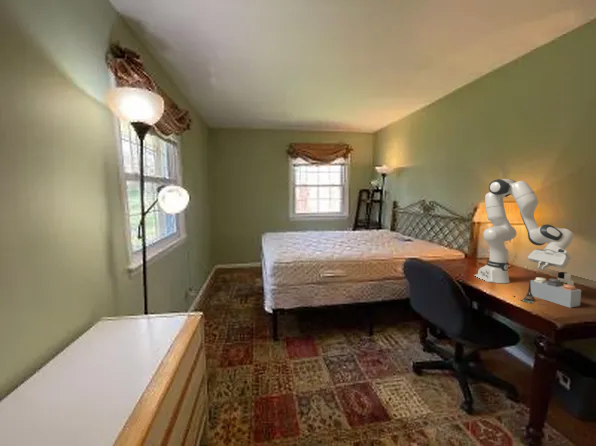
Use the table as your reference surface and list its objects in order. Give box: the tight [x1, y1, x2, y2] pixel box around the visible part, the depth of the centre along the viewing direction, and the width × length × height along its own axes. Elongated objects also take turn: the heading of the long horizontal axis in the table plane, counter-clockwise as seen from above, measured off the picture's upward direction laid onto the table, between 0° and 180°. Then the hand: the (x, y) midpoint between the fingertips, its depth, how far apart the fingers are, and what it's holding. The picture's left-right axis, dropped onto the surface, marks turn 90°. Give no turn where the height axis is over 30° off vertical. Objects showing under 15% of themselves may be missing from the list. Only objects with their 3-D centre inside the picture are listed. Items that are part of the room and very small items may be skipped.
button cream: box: [533, 276, 548, 283], centre depth 184 cm, size 5×5×8 cm
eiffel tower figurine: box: [519, 280, 546, 306], centre depth 178 cm, size 15×10×13 cm
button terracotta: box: [562, 284, 577, 291], centre depth 170 cm, size 5×5×8 cm
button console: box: [529, 279, 582, 309], centre depth 178 cm, size 22×8×9 cm, turn 17°
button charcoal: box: [547, 278, 561, 287], centre depth 177 cm, size 5×5×8 cm
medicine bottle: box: [557, 271, 575, 286], centre depth 192 cm, size 7×7×12 cm
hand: (540, 268), depth 183 cm, fingers closed
